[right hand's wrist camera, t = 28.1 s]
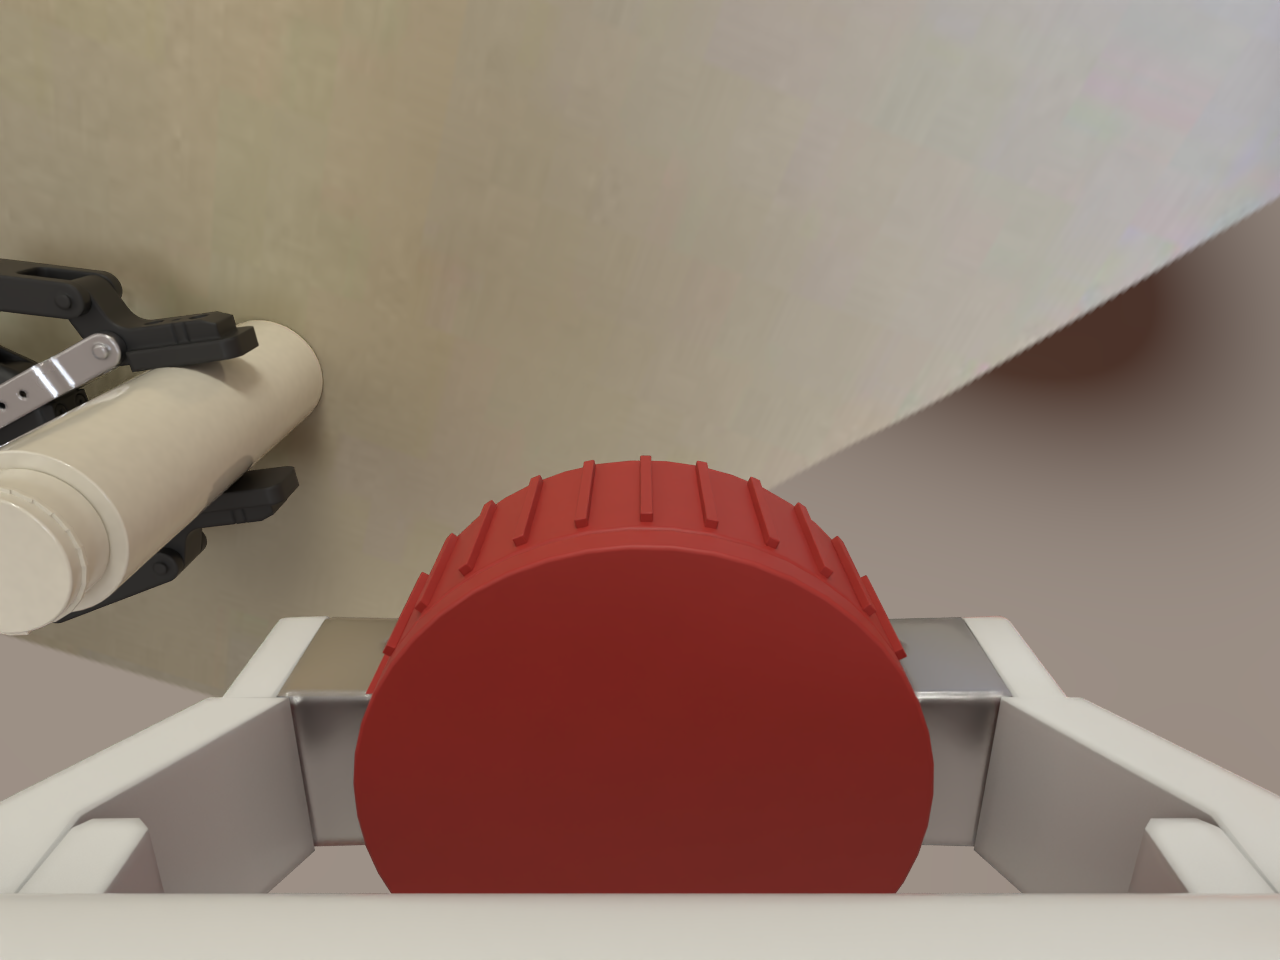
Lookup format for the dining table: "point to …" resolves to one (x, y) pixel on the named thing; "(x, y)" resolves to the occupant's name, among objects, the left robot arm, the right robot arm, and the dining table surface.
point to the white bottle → (138, 471)
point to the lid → (643, 701)
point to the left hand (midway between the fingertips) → (267, 414)
